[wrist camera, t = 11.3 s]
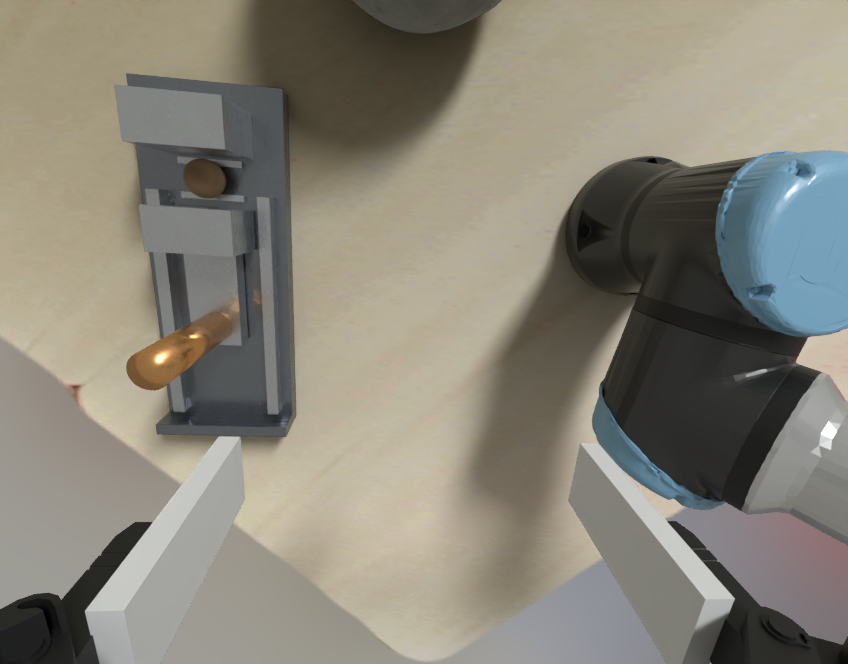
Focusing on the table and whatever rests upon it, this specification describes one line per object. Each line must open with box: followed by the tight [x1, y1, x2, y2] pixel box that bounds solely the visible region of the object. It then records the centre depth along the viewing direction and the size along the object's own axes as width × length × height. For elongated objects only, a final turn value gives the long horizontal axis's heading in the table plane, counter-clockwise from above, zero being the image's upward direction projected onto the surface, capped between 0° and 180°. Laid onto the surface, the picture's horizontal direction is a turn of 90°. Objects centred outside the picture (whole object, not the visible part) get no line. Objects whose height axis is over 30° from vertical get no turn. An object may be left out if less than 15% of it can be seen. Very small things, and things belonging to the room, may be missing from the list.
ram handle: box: [126, 204, 255, 390], centre depth 35 cm, size 14×8×14 cm, turn 176°
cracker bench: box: [114, 73, 296, 437], centre depth 40 cm, size 36×14×9 cm, turn 176°
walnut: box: [183, 158, 226, 199], centre depth 38 cm, size 4×4×4 cm
